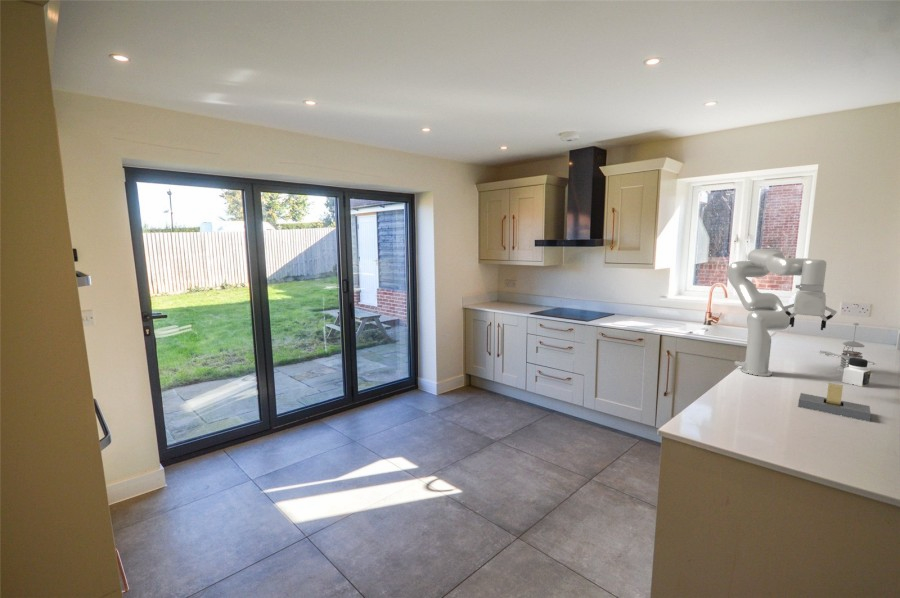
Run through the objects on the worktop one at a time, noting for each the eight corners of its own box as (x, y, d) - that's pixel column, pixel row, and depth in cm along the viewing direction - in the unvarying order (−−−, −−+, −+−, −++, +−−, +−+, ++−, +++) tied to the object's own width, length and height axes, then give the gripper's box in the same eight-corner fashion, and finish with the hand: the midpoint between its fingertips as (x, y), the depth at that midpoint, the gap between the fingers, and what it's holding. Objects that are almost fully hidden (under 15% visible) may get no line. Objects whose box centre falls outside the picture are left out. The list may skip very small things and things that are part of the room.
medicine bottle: (862, 387, 186) (865, 361, 185) (841, 382, 193) (845, 357, 191) (868, 384, 190) (872, 359, 188) (848, 380, 196) (851, 355, 194)
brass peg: (825, 410, 160) (828, 385, 159) (825, 407, 163) (828, 382, 162) (839, 412, 157) (842, 387, 156) (839, 409, 160) (842, 385, 159)
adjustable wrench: (875, 365, 223) (875, 361, 223) (866, 366, 221) (867, 362, 221) (823, 353, 247) (823, 350, 247) (815, 353, 245) (815, 350, 245)
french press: (842, 372, 208) (848, 323, 205) (831, 366, 219) (837, 319, 216) (867, 374, 205) (874, 325, 201) (855, 368, 215) (861, 321, 212)
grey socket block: (798, 406, 163) (798, 399, 163) (800, 399, 170) (800, 392, 170) (869, 421, 150) (870, 413, 149) (868, 413, 157) (869, 406, 156)
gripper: (784, 287, 178) (780, 326, 180) (839, 290, 166) (834, 332, 168) (786, 286, 183) (782, 324, 185) (839, 289, 171) (834, 329, 174)
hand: (806, 328), depth 177 cm, fingers open, 9 cm apart
